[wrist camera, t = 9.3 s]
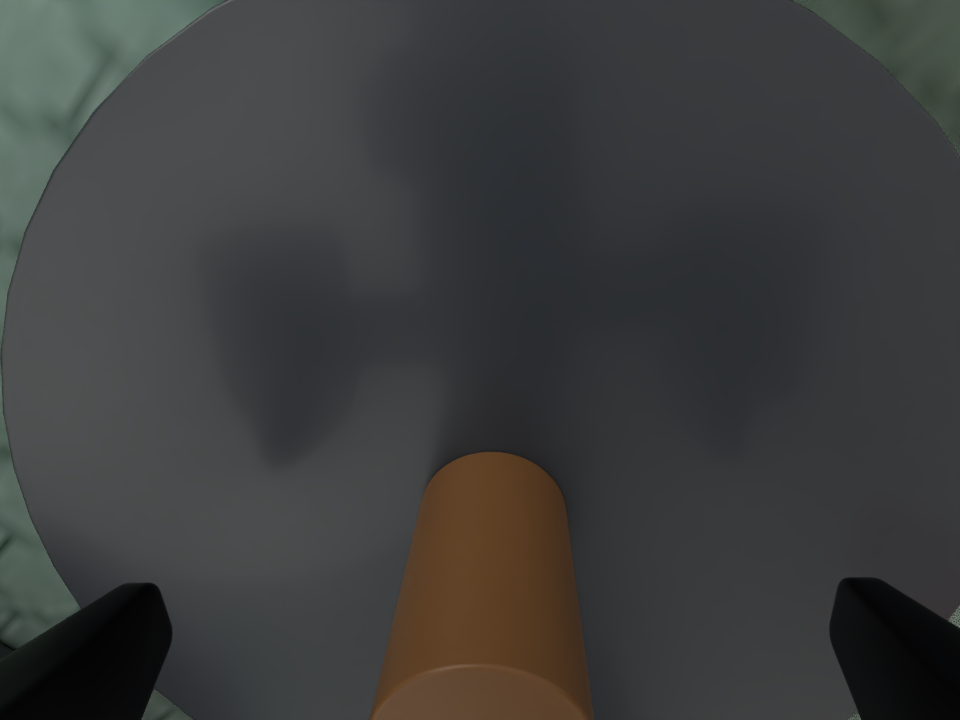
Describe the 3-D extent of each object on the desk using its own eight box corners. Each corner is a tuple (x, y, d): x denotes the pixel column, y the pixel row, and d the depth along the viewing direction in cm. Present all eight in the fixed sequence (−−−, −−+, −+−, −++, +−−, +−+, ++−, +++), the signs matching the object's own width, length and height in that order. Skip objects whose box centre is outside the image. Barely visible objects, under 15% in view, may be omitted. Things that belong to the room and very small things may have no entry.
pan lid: (1128, -102, 7) (2257, -498, 3) (871, 776, 13) (1066, 1135, 9) (-108, -6, 8) (-905, -160, 4) (176, 765, 14) (14, 1079, 10)
